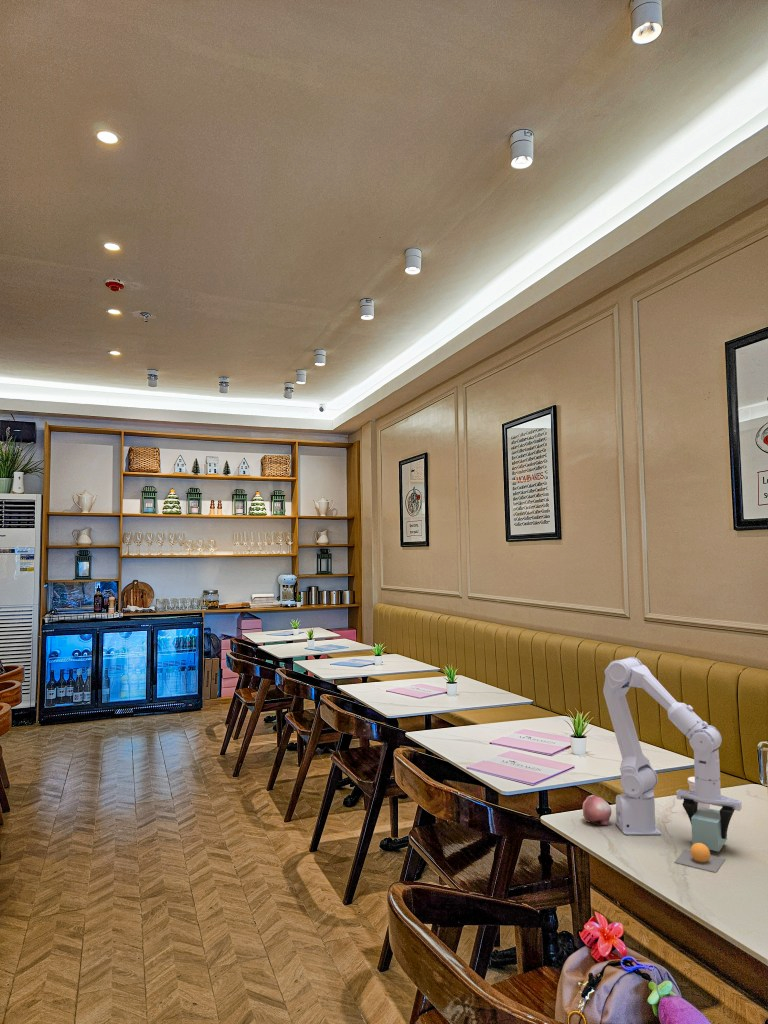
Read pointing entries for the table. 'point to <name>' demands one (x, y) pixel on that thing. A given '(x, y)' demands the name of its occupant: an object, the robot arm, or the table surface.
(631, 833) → the robot arm
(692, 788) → the smoothie
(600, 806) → the onion
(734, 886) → the table surface
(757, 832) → the table surface
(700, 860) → the ball
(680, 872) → the table surface
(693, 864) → the tape square
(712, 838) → the light blue upright block
